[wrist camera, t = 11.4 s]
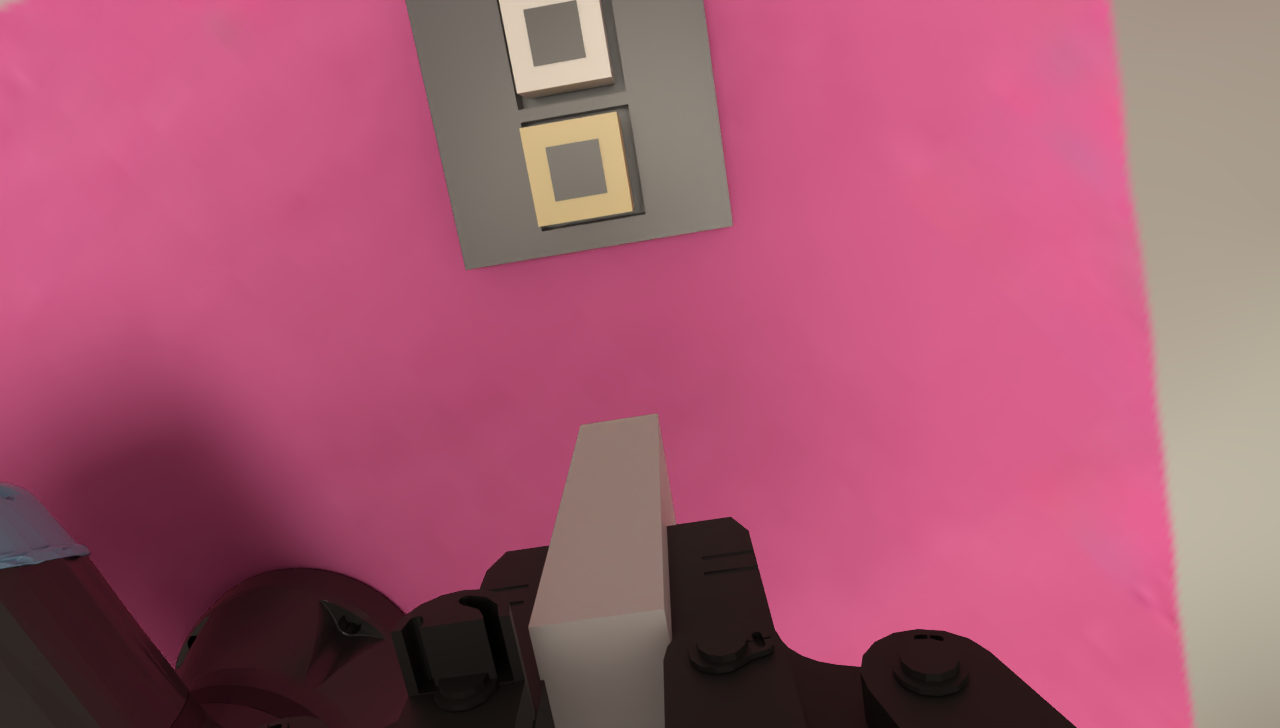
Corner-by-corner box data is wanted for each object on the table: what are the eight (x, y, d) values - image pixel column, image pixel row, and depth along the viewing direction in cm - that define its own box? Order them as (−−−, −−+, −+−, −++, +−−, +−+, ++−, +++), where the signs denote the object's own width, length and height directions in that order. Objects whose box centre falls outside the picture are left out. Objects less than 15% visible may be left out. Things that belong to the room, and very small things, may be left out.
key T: (528, 99, 38) (516, 93, 35) (510, 4, 37) (496, -11, 34) (614, 83, 38) (611, 76, 35) (599, -12, 37) (594, -29, 34)
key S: (548, 221, 39) (538, 227, 35) (530, 130, 37) (518, 128, 34) (634, 206, 38) (632, 211, 35) (619, 115, 37) (616, 111, 34)
